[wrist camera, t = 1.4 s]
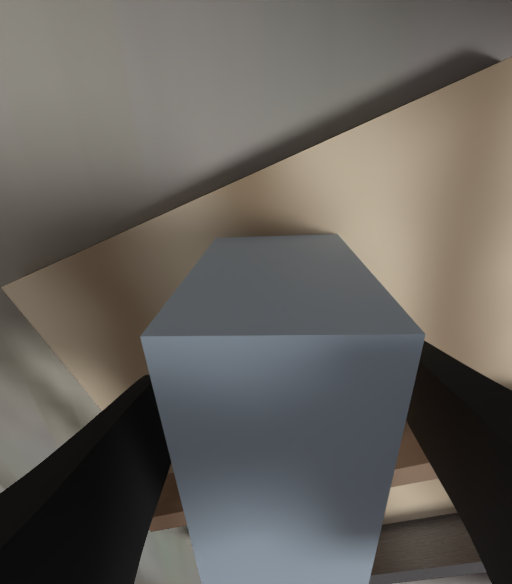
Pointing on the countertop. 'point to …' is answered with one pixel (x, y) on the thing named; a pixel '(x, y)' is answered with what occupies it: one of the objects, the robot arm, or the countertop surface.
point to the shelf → (324, 220)
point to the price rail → (424, 550)
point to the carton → (283, 407)
